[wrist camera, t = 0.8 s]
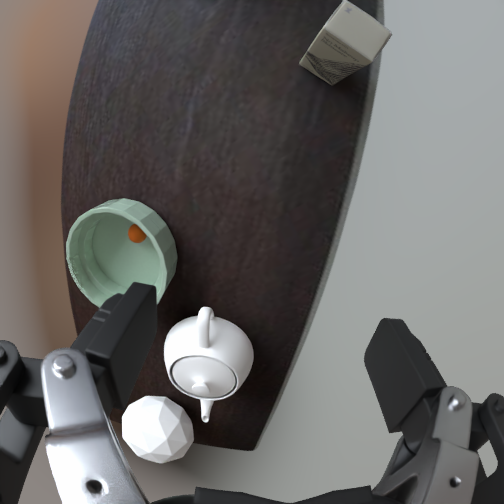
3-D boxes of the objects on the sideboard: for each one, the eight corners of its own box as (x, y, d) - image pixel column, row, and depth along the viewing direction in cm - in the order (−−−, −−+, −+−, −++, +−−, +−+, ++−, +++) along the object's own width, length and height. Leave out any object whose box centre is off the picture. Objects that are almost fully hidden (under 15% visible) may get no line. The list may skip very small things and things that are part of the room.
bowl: (77, 205, 35) (55, 215, 30) (169, 191, 34) (154, 201, 29) (100, 295, 41) (85, 313, 36) (186, 295, 40) (177, 317, 35)
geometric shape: (153, 381, 55) (101, 396, 42) (208, 398, 49) (156, 424, 35) (158, 433, 53) (111, 454, 40) (210, 453, 47) (165, 486, 34)
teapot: (165, 281, 39) (139, 325, 29) (260, 290, 39) (260, 340, 29) (176, 381, 48) (162, 426, 38) (248, 390, 48) (245, 437, 38)
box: (297, 64, 28) (318, 26, 16) (315, 40, 26) (342, -4, 14) (334, 88, 29) (373, 63, 17) (350, 63, 27) (394, 32, 15)
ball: (131, 221, 35) (123, 227, 33) (148, 219, 35) (140, 225, 33) (134, 239, 36) (127, 246, 34) (151, 238, 36) (144, 245, 34)
